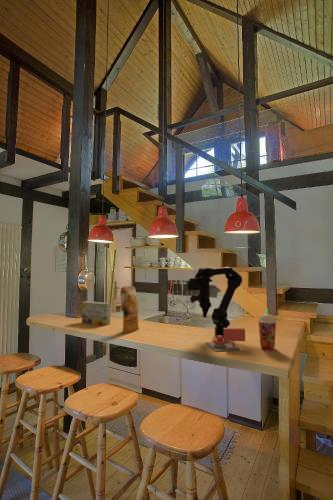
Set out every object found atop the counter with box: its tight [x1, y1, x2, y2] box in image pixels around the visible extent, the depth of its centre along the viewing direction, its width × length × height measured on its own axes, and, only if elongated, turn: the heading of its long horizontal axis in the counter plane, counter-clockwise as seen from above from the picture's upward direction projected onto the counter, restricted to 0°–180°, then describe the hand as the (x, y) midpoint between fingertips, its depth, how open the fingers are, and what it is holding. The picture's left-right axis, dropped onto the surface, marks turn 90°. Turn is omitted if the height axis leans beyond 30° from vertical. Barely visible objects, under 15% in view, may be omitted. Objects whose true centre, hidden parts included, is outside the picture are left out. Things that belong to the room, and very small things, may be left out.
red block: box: [212, 327, 246, 344], centre depth 140 cm, size 16×7×7 cm, turn 83°
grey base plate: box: [205, 341, 241, 352], centre depth 141 cm, size 13×14×3 cm
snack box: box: [81, 300, 111, 326], centre depth 196 cm, size 21×6×15 cm, turn 67°
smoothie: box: [258, 308, 277, 351], centre depth 139 cm, size 8×8×20 cm
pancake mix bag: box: [120, 285, 140, 334], centre depth 175 cm, size 7×19×28 cm, turn 152°
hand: (204, 317), depth 157 cm, fingers closed
